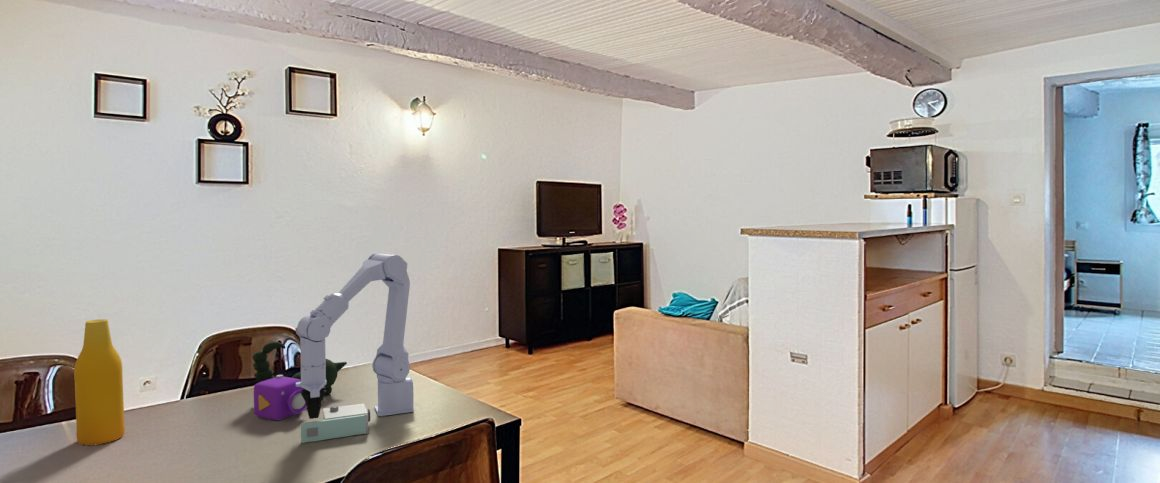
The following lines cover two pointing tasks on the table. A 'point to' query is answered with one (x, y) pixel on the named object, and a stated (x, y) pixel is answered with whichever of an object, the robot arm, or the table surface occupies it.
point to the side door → (334, 428)
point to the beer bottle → (98, 387)
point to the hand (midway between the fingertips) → (313, 417)
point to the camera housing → (345, 411)
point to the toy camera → (278, 398)
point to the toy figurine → (267, 373)
